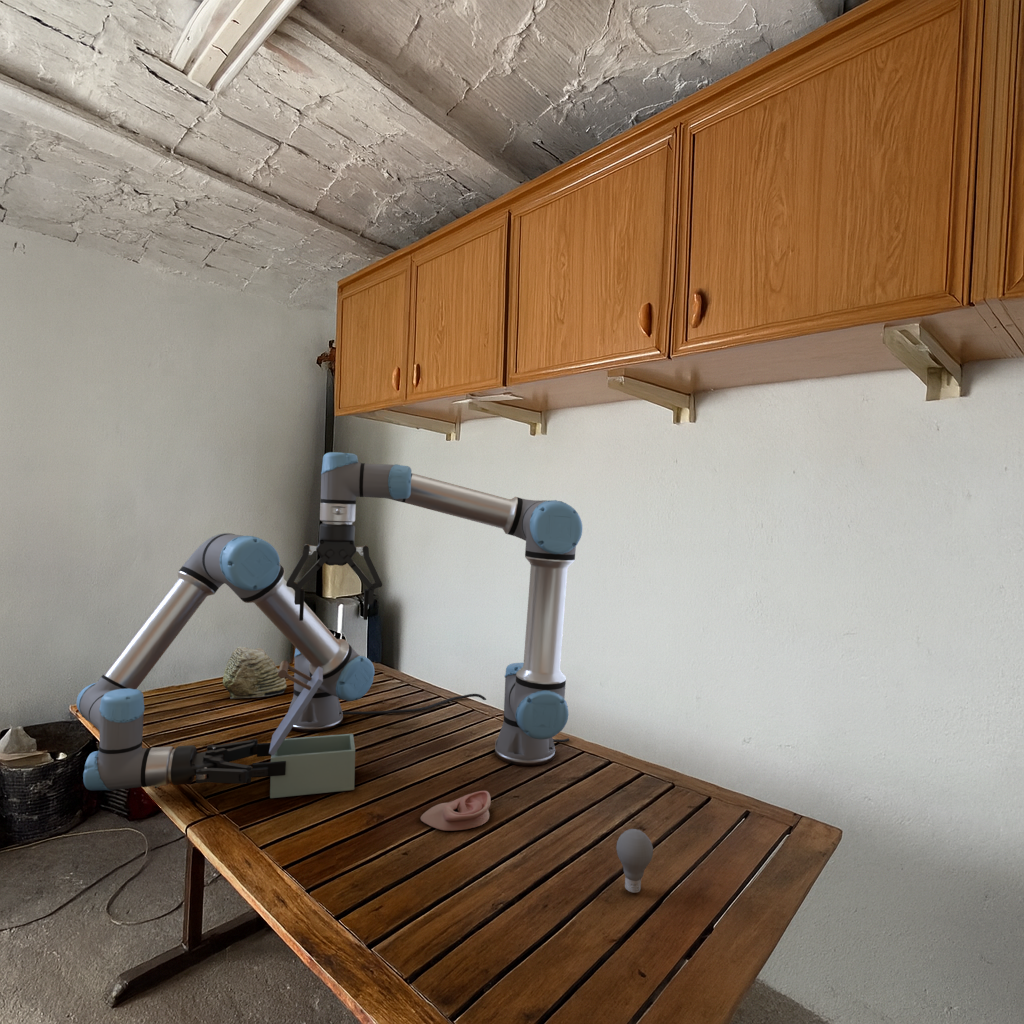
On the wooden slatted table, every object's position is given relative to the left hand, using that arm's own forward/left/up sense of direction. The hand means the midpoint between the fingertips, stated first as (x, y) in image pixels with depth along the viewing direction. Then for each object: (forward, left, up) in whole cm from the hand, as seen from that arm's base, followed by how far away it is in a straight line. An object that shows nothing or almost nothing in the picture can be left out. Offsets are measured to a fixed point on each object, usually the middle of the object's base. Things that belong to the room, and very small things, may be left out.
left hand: (286, 757), depth 138 cm
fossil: (-27, -62, -6) cm, 68 cm away
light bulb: (-18, +74, -6) cm, 77 cm away
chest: (-5, +3, -6) cm, 8 cm away
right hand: (-7, +5, +30) cm, 31 cm away
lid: (-2, +1, +10) cm, 11 cm away
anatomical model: (-16, +36, -6) cm, 40 cm away
